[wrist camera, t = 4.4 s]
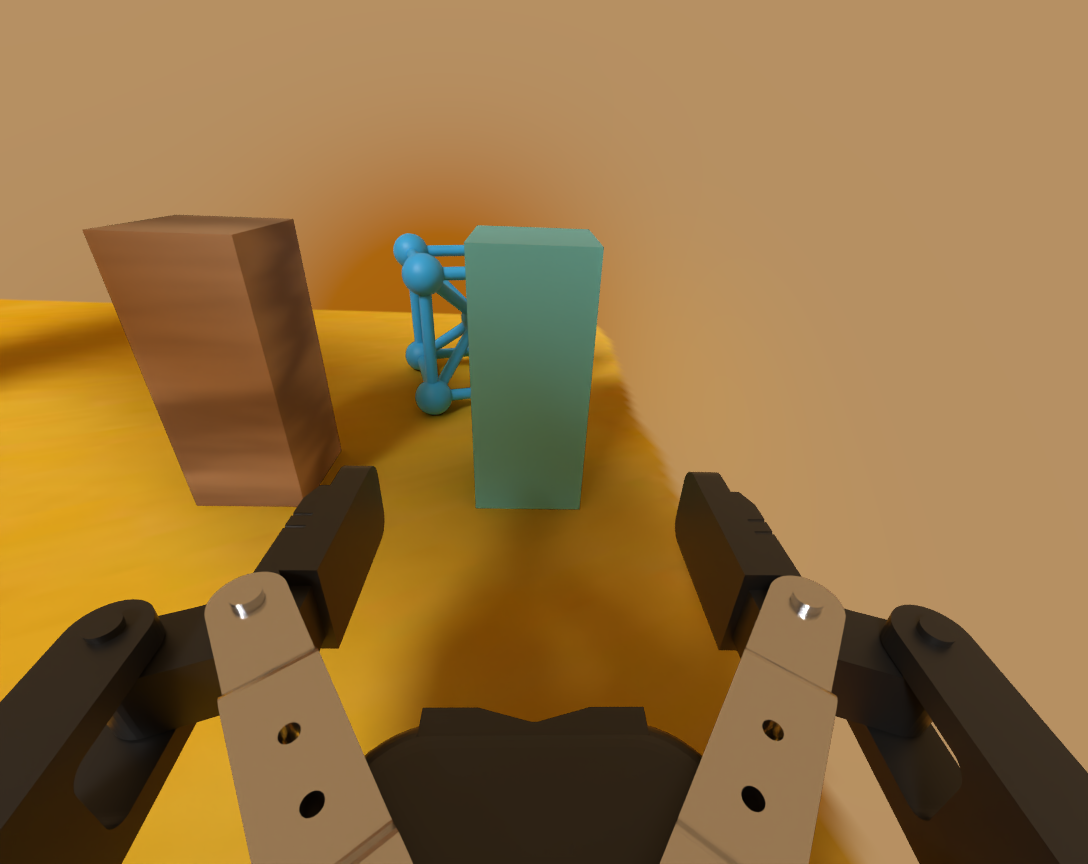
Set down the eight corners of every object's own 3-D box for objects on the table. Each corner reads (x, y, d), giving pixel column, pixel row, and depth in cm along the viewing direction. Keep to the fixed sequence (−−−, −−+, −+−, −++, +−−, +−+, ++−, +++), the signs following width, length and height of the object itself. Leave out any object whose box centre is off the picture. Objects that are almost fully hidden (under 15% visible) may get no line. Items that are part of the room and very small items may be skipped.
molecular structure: (525, 355, 41) (527, 230, 36) (566, 405, 33) (576, 253, 28) (406, 365, 38) (390, 231, 33) (419, 423, 30) (401, 257, 25)
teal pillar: (579, 509, 23) (603, 247, 17) (475, 508, 23) (463, 242, 17) (571, 453, 27) (588, 229, 21) (484, 452, 27) (477, 225, 21)
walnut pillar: (305, 506, 23) (231, 234, 17) (196, 505, 22) (82, 229, 16) (341, 450, 27) (293, 218, 21) (250, 449, 27) (175, 214, 21)
